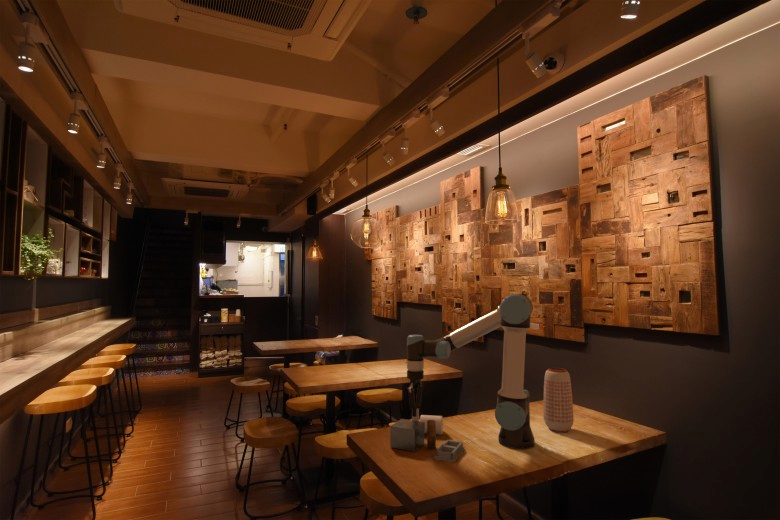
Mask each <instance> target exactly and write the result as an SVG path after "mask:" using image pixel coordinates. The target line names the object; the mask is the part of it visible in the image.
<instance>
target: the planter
mask: <svg viewBox="0 0 780 520" xmlns="http://www.w3.org/2000/svg"><path fill="white" fill-rule="evenodd" d="M571 381H572V380H571V375H570V373H569V372H568V370H567V369H565V368H561V367H549V368H548V369H547V370H545V374H544V380H543V421H544V423H545V426H546V427H547V428H548V429H549V430H550V431H552V432H557V433H567V432H569V430H571V428H572V427H573V425H574V421H575V419H574V402H573V389H572V382H571Z"/></svg>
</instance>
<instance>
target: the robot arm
mask: <svg viewBox="0 0 780 520" xmlns="http://www.w3.org/2000/svg"><path fill="white" fill-rule="evenodd" d="M533 306H534V305H533V303H532V301H531V299H530V298H529V297H528V296H526V295H525V294H522V293H521V294H520V293H514V294H513V293H511V294H509V295H507V296H505V297H504V298H503V299H502V301H501V303H500V304H499V305H498V306H497V308H496V309H494V310H492V311H491V312H489V313H487V314H485V315H483V316H481V317H479V318H477V319H475V320H473V321H471V322H469V323H467V324H465V325H463V326H462V327H460V328H458V329H456V330H454V331H452V332H450V333H449V334H446V335H445V336H443V337H440V338H438V339H435V340H429V339H424V336H423V335H422V334H409V335H408V336H407V337H406V338H407V339H406V369H407V370H406V378H407V379H408V380H409V387H407V388H406V389H407V390H406V391H407V395H408V404H409V409H410V410H411V420H414V421H420V409H422V406H421V405H422V397H423V386H424V382H422V381H421V380H424V378H425V377H424V376H425V375H424V374H425V371H424V368H425V366H424V365H425V363H424V362H425V359H424V358H432V359H440V360H442V359H448V358H450V356H451V352H454V351H455V350H456V349H458V348H461V347H463V346H464V345H467V344H468V343H471V342H472V341H475V340H476V339H479V338H480V337H483V336H484V335H487V334H488V333H491V332H493V331H495V330H497V329H498V328H499V329H500V328H502V329H503V353H502V372H501V373H502V375H501V388H500V389H499V390H498V391H497V395H496V398H497V399H496V407H495V409H494V417H495V420H496V422H497V424H498V425H499V426H500V430H499V432H498V437H497V438H498V441H497V442H498V443H499V444H500V445H502V446H504V447H507V448H510V449H515V450H517V449H518V450H519V449H520V450H525V449H531V448H533V447H534V446H535V445H536V443H535V442H536V441H535V440H536V439H535V437H534V434H533V431H532V428H531V415H530V414H531V413H530V409H531V408H530V398H531V396H530V392H529V391H528V389H524V384H525V361H526V341H527V339H526V337H527V332H528V331H529V330H530V329H531V315H532V314H533V310H534V307H533Z"/></svg>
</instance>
